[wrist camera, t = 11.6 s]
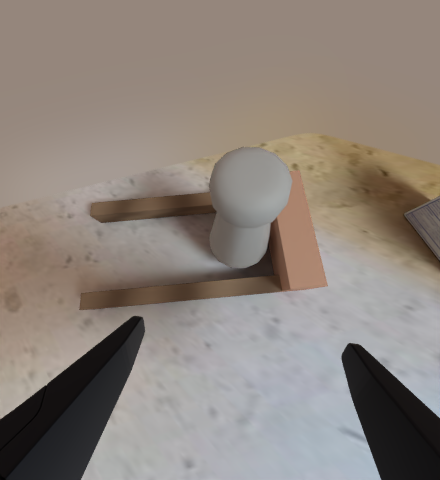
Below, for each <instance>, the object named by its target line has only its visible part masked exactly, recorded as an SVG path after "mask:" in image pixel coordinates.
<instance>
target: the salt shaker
mask: <svg viewBox="0 0 440 480" xmlns="http://www.w3.org/2000/svg"><path fill="white" fill-rule="evenodd" d="M291 185H292V178H291V175H290V172H289V169H288V166H287V165H286V164H285V163H284V162H283V161H282V160H281V159H280V158H279V157H278V156H277V155H276V154H275V153H272V152H270V151H267V150H265V149H262V148H260V147H241V148H238V149H236V150H233V151H230V152H228V153H226V154H225V155H224V156H223V157H222V158H221V159H220V160H219V161H218V162H217V163H215V166H214V169H213V172H212V175H211V178H210V183H209V189H210V195H211V201H212V205H213V208H214V209H215V210H216V211H217V213H216V216H215V220H214V223H213V226H212V230H211V233H210V236H209V240H210V247H211V251H212V252H213V254H214V255H215V256H216V258H217V259H218V260H219V261H220V262H221V263H223V264H225V265H227V266H229V267H231V268H246V267H249V266H251V265H254V264H256V263H258V262H259V261H260V259H261V258H262V257H263V256H264V254H265V253H266V250H267V246H268V242H269V235H270V225H271V222H273V221H274V220H275V218H276V217H277V216H278V215H279V214H280V212H281V211H282V210H283V209H284V208H285V206H286V205H287V203H288V199H289V195H290V190H291Z"/></svg>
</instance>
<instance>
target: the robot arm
mask: <svg viewBox="0 0 440 480" xmlns="http://www.w3.org/2000/svg"><path fill="white" fill-rule="evenodd" d="M144 333H145V326H144V320H143V317H140V316H133V317H131V318H130V319H129V320H128V321H126V322H125V323H124V324H123V325H121V326H120V327H119V328H117V329H116V330H115V331H114V332H112V333H111V334H110V335H109V336H107V337H106V338H105V339H104V340H102V341H101V342H100V343H98V344H97V345H96V346H95V347H93V348H92V349H91V350H90V351H88V352H87V353H86V354H85V355H83V356H82V357H81V358H79V359H78V360H77V361H76V362H74V363H73V364H72V365H71V366H69V367H68V368H67V369H66V370H64V371H63V372H62V373H60V374H59V375H58V376H57V377H55V378H54V379H53V380H52V381H50V382H49V383H48V384H47V385H46V386H44V387H43V388H41V389H40V390H39V391H38V392H36V393H35V394H34V395H32V396H31V397H30V398H29V399H27V400H26V401H25V402H23V403H22V404H21V405H19V406H18V407H17V408H15V409H14V410H13V411H11V412H10V413H9V414H7V415H6V416H4V417H3V418H2V419H0V480H81V478H82V476H83V474H84V472H85V469H86V467H87V465H88V463H89V461H90V459H91V457H92V454H93V452H94V450H95V448H96V446H97V444H98V441H99V439H100V437H101V435H102V433H103V431H104V429H105V426H106V424H107V422H108V420H109V418H110V416H111V413H112V411H113V409H114V407H115V405H116V403H117V401H118V398H119V396H120V394H121V392H122V390H123V388H124V385H125V383H126V381H127V379H128V377H129V375H130V372H131V370H132V367H133V365H134V362H135V359H136V356H137V353H138V350H139V348H140V345H141V342H142V339H143V336H144ZM342 363H343V367H344V371H345V374H346V378H347V382H348V386H349V389H350V393H351V397H352V400H353V403H354V406H355V409H356V412H357V414H358V417H359V420H360V423H361V425H362V428H363V431H364V434H365V436H366V439H367V442H368V445H369V447H370V450H371V453H372V456H373V458H374V461H375V464H376V467H377V469H378V472H379V475H380V478H381V480H440V418H439V417H438V416H437V415H436V414H435V413H433V412H432V411H431V410H430V409H429V408H428V407H427V406H426V405H425V404H424V403H423V402H422V401H420V400H419V399H418V398H417V397H416V396H415V395H414V394H413V393H412V392H411V391H410V390H409V389H408V388H406V387H405V386H404V385H403V384H402V383H401V382H400V381H399V380H398V379H397V378H396V377H395V376H393V375H392V374H391V373H390V372H389V371H388V370H387V369H386V368H385V367H384V366H383V365H382V364H380V363H379V362H378V361H377V360H376V359H375V358H374V357H373V356H372V355H371V354H370V353H369V352H368V351H366V350H365V349H364V348H363V347H362V346H361V345H359V344H354V343H349V344H348V345H347V346H346V348H345V350H344V352H343V353H342Z"/></svg>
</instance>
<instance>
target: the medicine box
mask: <svg viewBox="0 0 440 480" xmlns="http://www.w3.org/2000/svg"><path fill="white" fill-rule="evenodd" d="M404 216H405V217H406V218H407V219H408V221H409V222H410V223H411V224H412V226H413V227H414V228H415V230H416V231H417V232H418V233H419V235H420V236H421V237H422V239H423V240H424V241H425V242H426V244H427V245H428V246H429V247H430V249H431V250H432V251H433V253H434V254H435V255H436V256H437V258H438V259H439V260H440V196H438V197H436V198H434V199H432V200H431V201H429V202H427V203H425V204H423V205H421V206H419V207H416V208H414V209H412V210H410V211H408V212H406V213H404Z"/></svg>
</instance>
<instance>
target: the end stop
mask: <svg viewBox="0 0 440 480" xmlns="http://www.w3.org/2000/svg"><path fill="white" fill-rule="evenodd" d="M289 172H290V175H291V178H292V185H291V190H290V195H289V199H288V203H287V205H286V206H285V208H284V209H283V210H282V211H281V212H280V214H279V215H278V216H277V217H276V218H275V220H274V221H273V222H271V225H270V235H269V248H270V254H271V260H272V266H273V272H274V275H279V276H280V281H281V287H282V291H281V292H285V291H295V290H306V289H313V288H319V287H325V286H328V285H327V281H326V277H325V273H324V269H323V264H322V260H321V256H320V252H319V248H318V244H317V240H316V236H315V232H314V228H313V224H312V219H311V215H310V211H309V207H308V203H307V199H306V195H305V191H304V187H303V183H302V179H301V174H300V171H289Z"/></svg>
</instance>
